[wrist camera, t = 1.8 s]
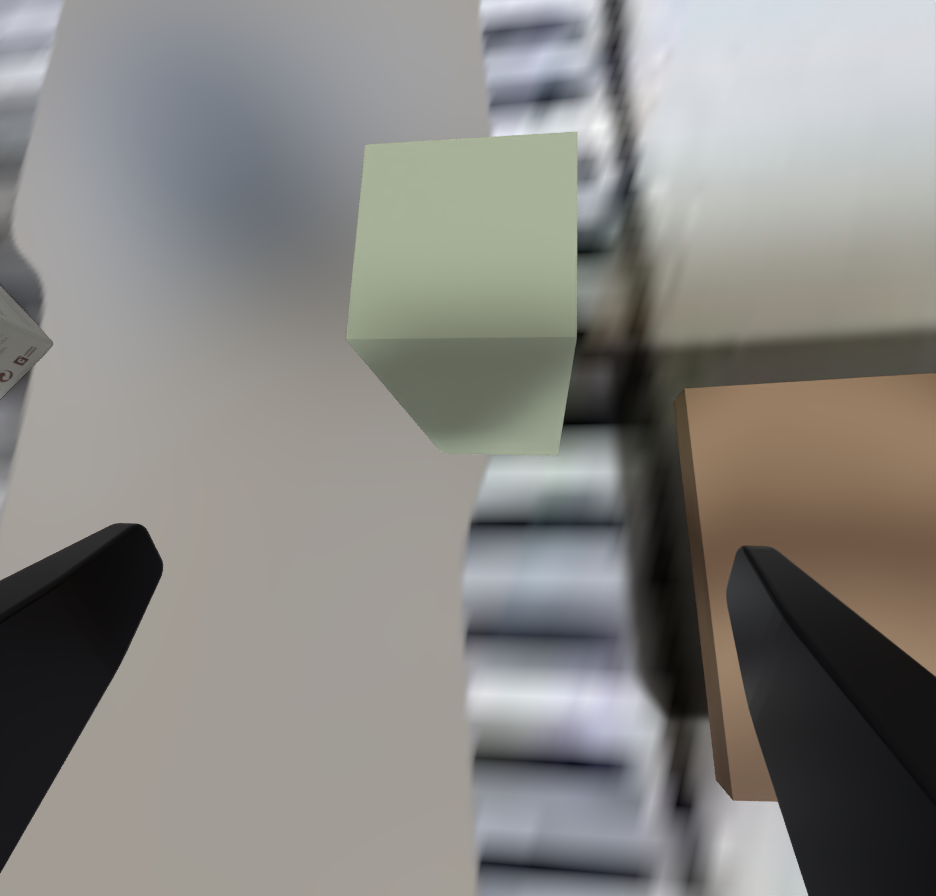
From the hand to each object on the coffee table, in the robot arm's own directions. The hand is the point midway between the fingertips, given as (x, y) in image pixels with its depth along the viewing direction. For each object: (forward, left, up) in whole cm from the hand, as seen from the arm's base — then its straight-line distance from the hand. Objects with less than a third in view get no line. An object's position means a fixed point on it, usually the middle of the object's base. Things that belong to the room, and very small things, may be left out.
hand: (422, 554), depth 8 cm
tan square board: (+7, -11, -12) cm, 18 cm away
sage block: (+6, +3, -12) cm, 14 cm away
